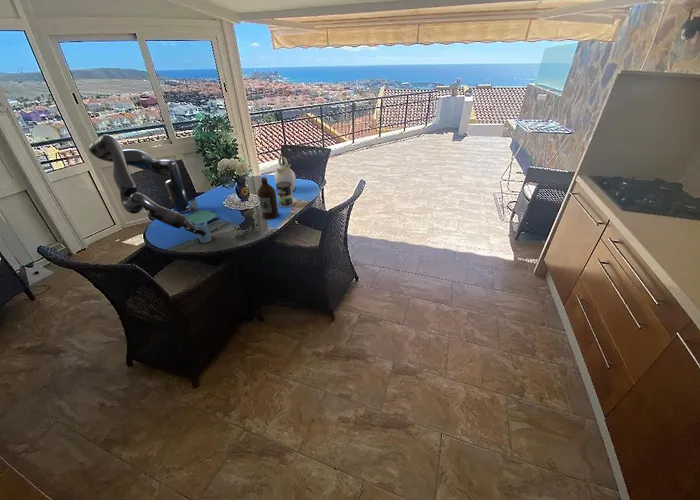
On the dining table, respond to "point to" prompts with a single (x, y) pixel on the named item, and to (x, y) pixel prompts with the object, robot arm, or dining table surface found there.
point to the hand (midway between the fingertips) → (202, 230)
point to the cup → (204, 227)
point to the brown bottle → (267, 200)
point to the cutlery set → (205, 218)
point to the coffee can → (285, 194)
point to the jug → (285, 173)
